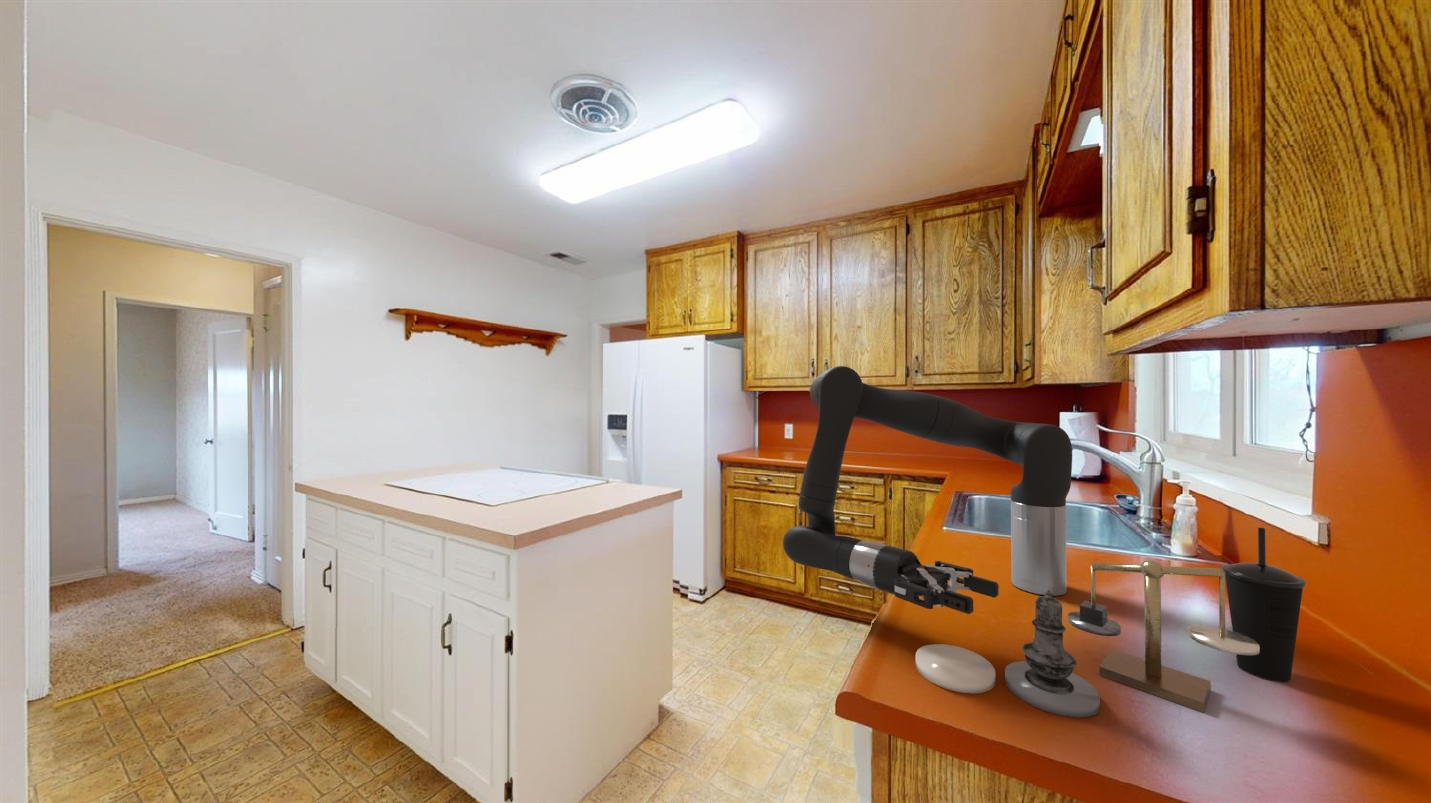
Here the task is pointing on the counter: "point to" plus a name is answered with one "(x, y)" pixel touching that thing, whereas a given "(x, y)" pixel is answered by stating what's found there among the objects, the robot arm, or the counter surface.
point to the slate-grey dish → (1069, 705)
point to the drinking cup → (1265, 613)
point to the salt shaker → (1049, 649)
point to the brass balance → (1159, 637)
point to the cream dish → (955, 668)
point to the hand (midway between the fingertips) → (985, 598)
